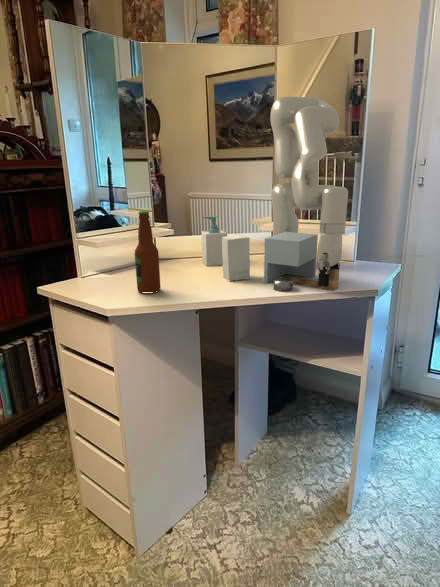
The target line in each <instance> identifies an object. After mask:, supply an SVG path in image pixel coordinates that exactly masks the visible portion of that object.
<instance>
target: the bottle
mask: <svg viewBox="0 0 440 587" xmlns="http://www.w3.org/2000/svg"><path fill="white" fill-rule="evenodd" d="M137 214H138V219H139V223H138V233H137V239H138V244H137V246H136V247H135V250H134V263H135V276H136V288H137V291H138V292H139V291H140V292H156V291H158V292H159V291H160V290H161V289H162V288H161V274H160V259H159V258H160V255H159V254H160V253H159V249H158V247H157V246H156V245H155V243H154V240H153V239H154V238H153V230H152V227H151V223H150V222H151V221H150V219H151V218H150V211H148V210H141V211H138V213H137ZM140 292H139V293H140ZM156 293H157V292H156Z"/></svg>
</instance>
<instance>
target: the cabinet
mask: <svg viewBox="0 0 440 587" xmlns="http://www.w3.org/2000/svg"><path fill="white" fill-rule="evenodd" d="M318 239H319V236H318V234H316V233H304V232H298V233H293V232H284V233H280V234H277V235H274V236H273V235H271V236H269V237H265V238H264V254H265V256H264V255H263V259H264V260H263V261H264V263H263V267H264V269H263V272H264V274H263V283H264V284H268V283H271V282H272V281H273V282H274V279H277V278H280V277H281V276H284V275H293V276H298V277H299V276H300V277H308V278H313V279H314V278H316V277H317V276H316V274H317V271H316V270H317V254H318V241H319V240H318Z"/></svg>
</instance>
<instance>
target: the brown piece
mask: <svg viewBox="0 0 440 587" xmlns="http://www.w3.org/2000/svg"><path fill="white" fill-rule="evenodd" d="M325 268H326V269H327V267H325ZM328 274H329V286H328V287H325V286H319V285H318V280H314V279H307V278H298V277H292V276H286V275H285V276H284V275H282V276H280V277H279V278H288V279H292V280H293V285H299V286H305V287H310V288H320V289H321V290H327V291H333V292H334V291H335V290H337V289H338V288H339V282H340V268H339V269H331V268H330V269H329V272H328Z"/></svg>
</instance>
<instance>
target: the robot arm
mask: <svg viewBox="0 0 440 587" xmlns="http://www.w3.org/2000/svg"><path fill="white" fill-rule="evenodd" d="M339 118H340V117H339V114H338V112H337V110H336V109H335V107H333V105H331V104H329V103H328V102H327V101H325V100H324V99H322V98H319V97H313V96H312V97H311V96H309V97H308V96H282V97H279V98H277V99H276V100H275V101H273V104H272V107H271V108H270V125H271V130H272V134H273V138H274V169H275V170H274V171H275V174H276V176H277V177H278V178H280V179H290V180H291V182H290V181H289V182H288V181H287V182H280V183H278V184H276V185H274V186H273V187H272V189H271V193H270V194H271V195H270V196H271V204H272V213H273V216H272V220H273V221H272V232H273V233H272V236H274V235H277V234H280V233H284V232H293V233H299V228H300V227H299V217H298V216H297V214H296V212H295V211H294V209H295V210H297V209H299V210H302V211H312V210H320V220H319V234H320V235H319V240H318V245H317V258H316V266H318V277H317V281H318V285H319V286H325V287H328V286H329V274H328V272H329V269H330V268H331V269H339V270H340V267H341V259H342V253H343V252H342V250H343V235H345V233H346V223H347V222H346V221H347V214H348V213H347V212H348V211H347V210H348V202H349V201H348V199H349V190H348V188H346V187H345V186H335V185H333V184H319V174H320V172H319V168H320V166H319V161H321V160H322V159H323V158H325V156H326V155H327V153H328V148H327V141H326V137H325V135H329V136H330V135H333V134H334V133H335V132H337V130H338V127H339V125H340V119H339ZM291 124H294V127H295V128H294V127H293V126H292V125H291ZM263 254H264V255H263V257H264V256H265V253H263ZM326 268H327V269H326Z"/></svg>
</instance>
